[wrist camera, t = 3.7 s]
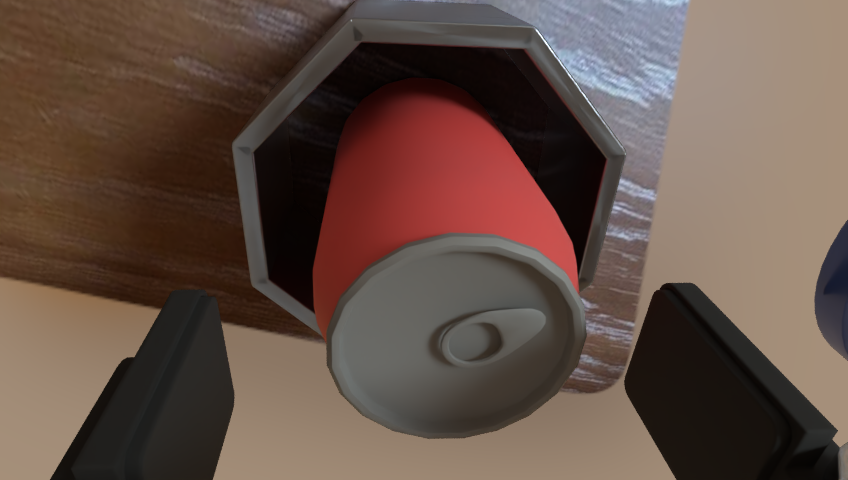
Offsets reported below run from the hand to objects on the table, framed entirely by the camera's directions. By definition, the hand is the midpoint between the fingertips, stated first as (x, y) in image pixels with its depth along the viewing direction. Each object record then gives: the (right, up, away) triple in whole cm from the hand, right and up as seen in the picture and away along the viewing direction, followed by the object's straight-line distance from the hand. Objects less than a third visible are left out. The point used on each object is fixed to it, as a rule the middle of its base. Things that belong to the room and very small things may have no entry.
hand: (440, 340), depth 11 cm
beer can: (-1, +6, +10) cm, 12 cm away
